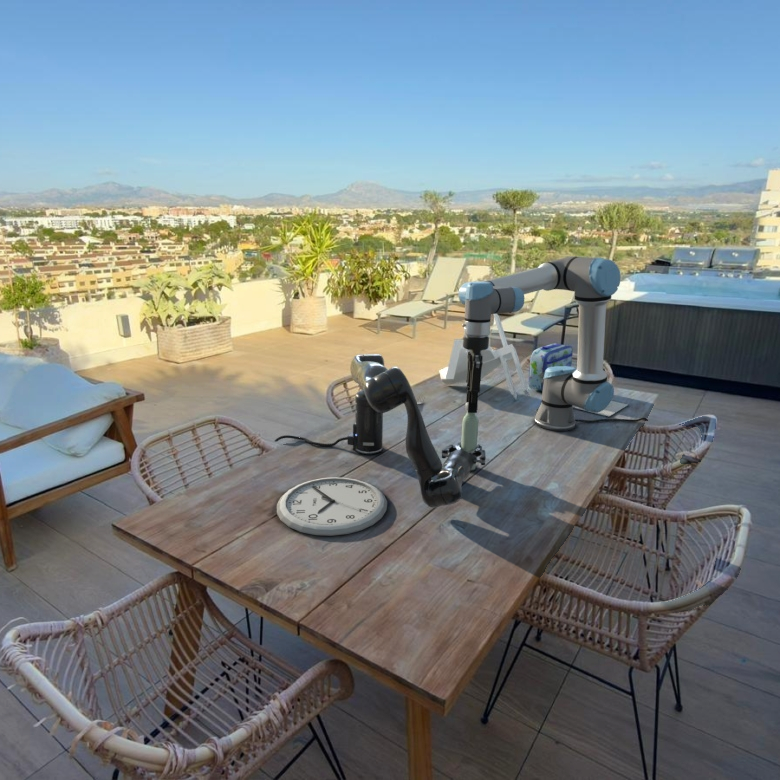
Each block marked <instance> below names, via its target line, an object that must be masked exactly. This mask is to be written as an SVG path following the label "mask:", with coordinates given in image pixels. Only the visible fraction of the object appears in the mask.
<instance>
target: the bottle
mask: <svg viewBox="0 0 780 780" xmlns="http://www.w3.org/2000/svg"><path fill="white" fill-rule="evenodd" d="M479 421H480V420H479V417H478V415H477V413H468V411H467V410H466V413H465V415H464V416H463V418H462V423H461V425H462V426H461V427H462V428H461V438H460V439H461V441H460V442H461V450H464V451H470V450H472V449H476V447H477V445H478V438H479V437H478V435H479V424H480V423H479ZM476 464H477V463H476ZM476 464H474V465H473V467H472V468H471V470H470V471H474V470H476Z"/></svg>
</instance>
